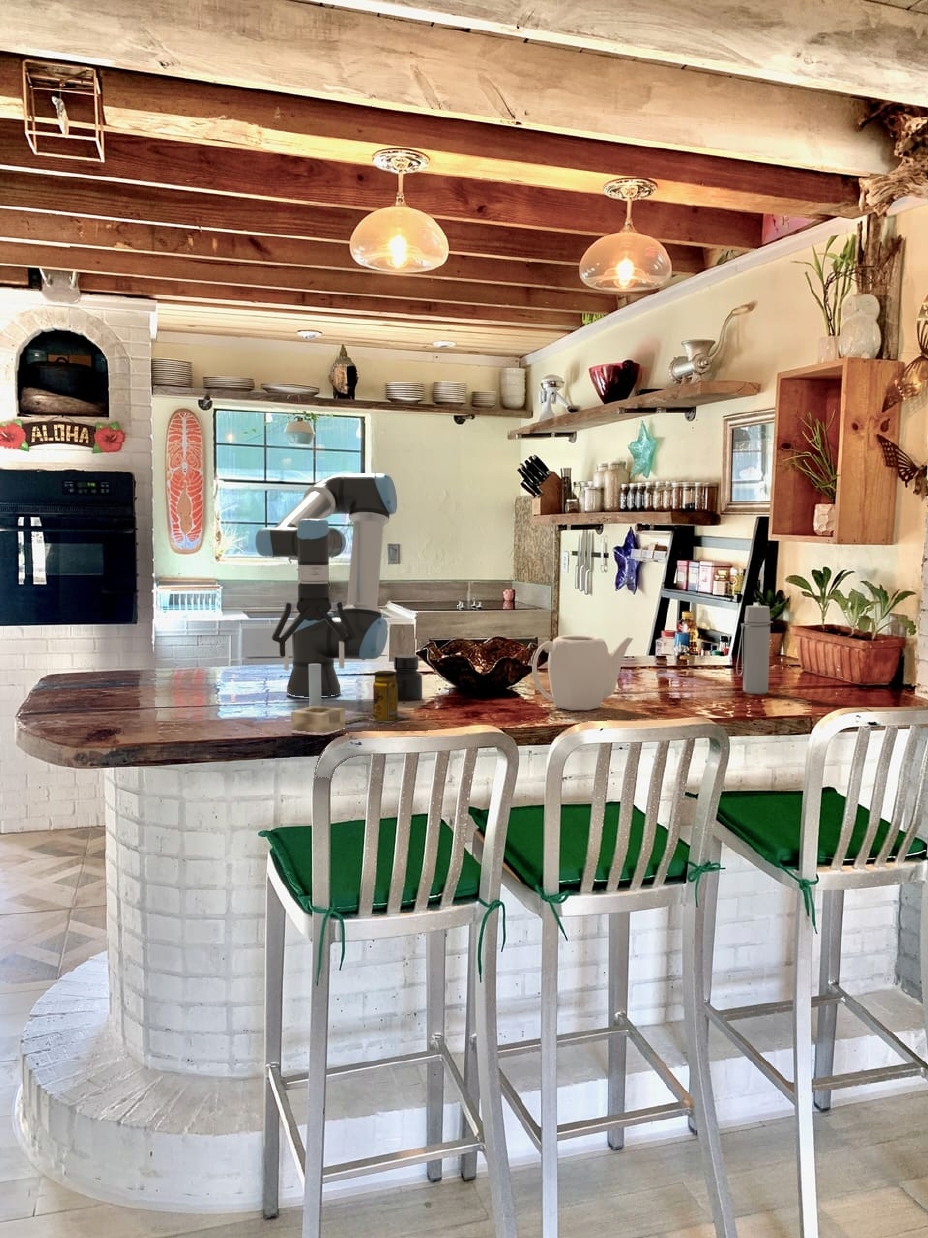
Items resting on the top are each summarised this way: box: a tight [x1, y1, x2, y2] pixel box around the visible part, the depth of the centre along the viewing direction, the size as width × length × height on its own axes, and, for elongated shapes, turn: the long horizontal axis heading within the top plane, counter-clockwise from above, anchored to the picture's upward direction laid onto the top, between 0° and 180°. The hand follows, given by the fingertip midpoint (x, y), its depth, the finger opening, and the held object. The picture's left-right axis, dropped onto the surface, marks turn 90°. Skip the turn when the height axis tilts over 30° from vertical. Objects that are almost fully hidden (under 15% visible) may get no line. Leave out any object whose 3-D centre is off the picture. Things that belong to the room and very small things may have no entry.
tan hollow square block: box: [290, 705, 346, 733], centre depth 226 cm, size 9×9×5 cm
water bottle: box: [735, 605, 772, 695], centre depth 277 cm, size 9×8×25 cm
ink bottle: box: [393, 654, 423, 702], centre depth 268 cm, size 10×9×12 cm
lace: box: [345, 715, 367, 723], centre depth 236 cm, size 10×1×1 cm, turn 143°
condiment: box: [368, 670, 409, 724], centre depth 240 cm, size 7×8×12 cm
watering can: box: [531, 634, 634, 711], centre depth 255 cm, size 16×27×19 cm, turn 91°
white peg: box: [308, 664, 322, 707], centre depth 238 cm, size 3×3×14 cm
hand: (314, 669), depth 237 cm, fingers open, 13 cm apart
